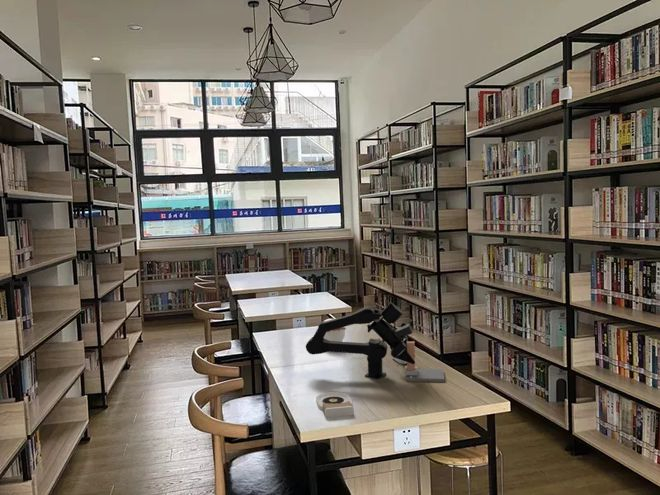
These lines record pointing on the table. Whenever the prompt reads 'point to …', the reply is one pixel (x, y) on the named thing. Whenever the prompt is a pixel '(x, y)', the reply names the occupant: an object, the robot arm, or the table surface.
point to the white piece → (335, 334)
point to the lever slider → (411, 368)
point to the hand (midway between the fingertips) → (414, 359)
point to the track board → (427, 375)
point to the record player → (335, 404)
